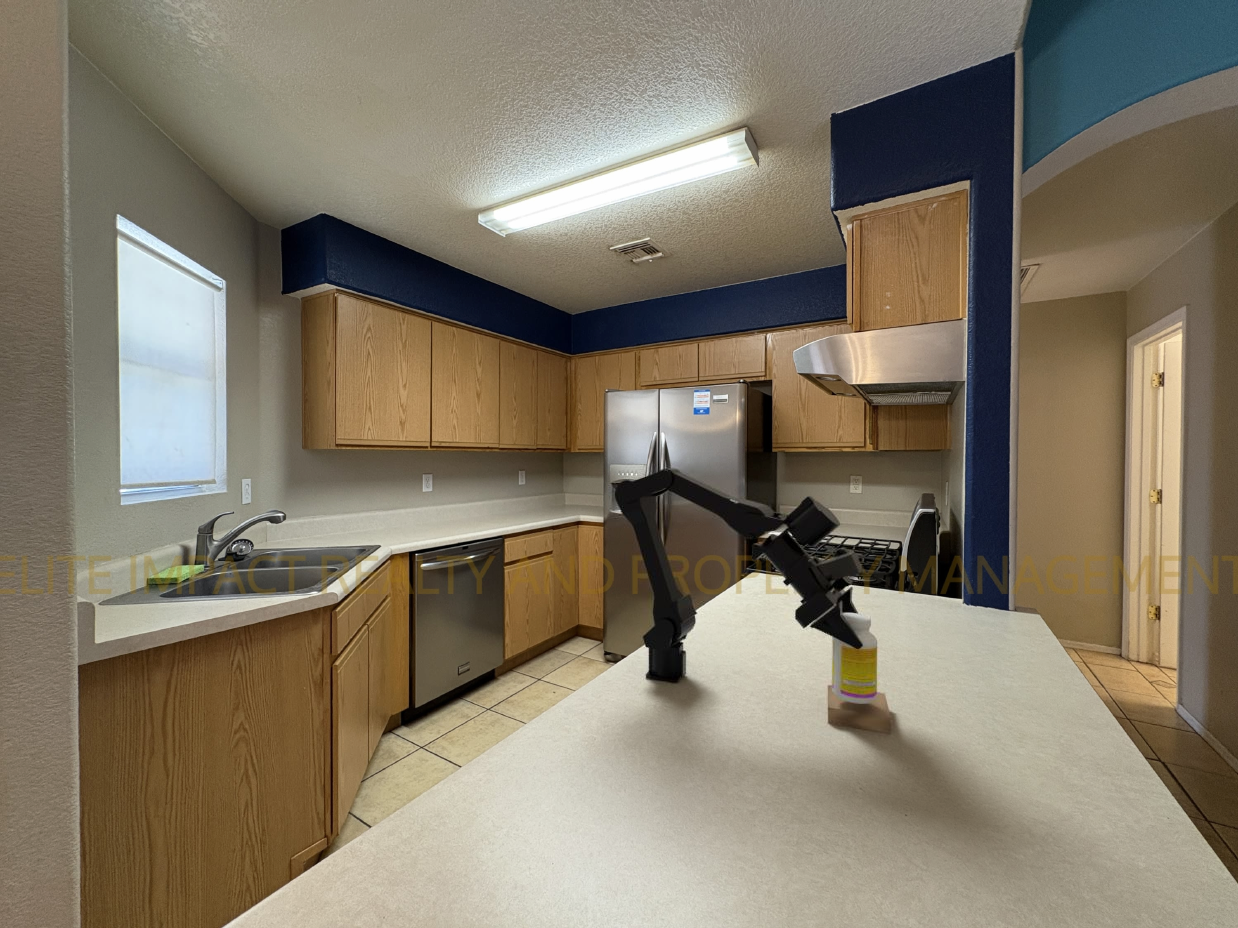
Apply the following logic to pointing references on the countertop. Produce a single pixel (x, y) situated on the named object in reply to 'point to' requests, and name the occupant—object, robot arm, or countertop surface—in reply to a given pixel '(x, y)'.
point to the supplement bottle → (855, 663)
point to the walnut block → (860, 713)
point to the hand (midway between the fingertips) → (863, 640)
